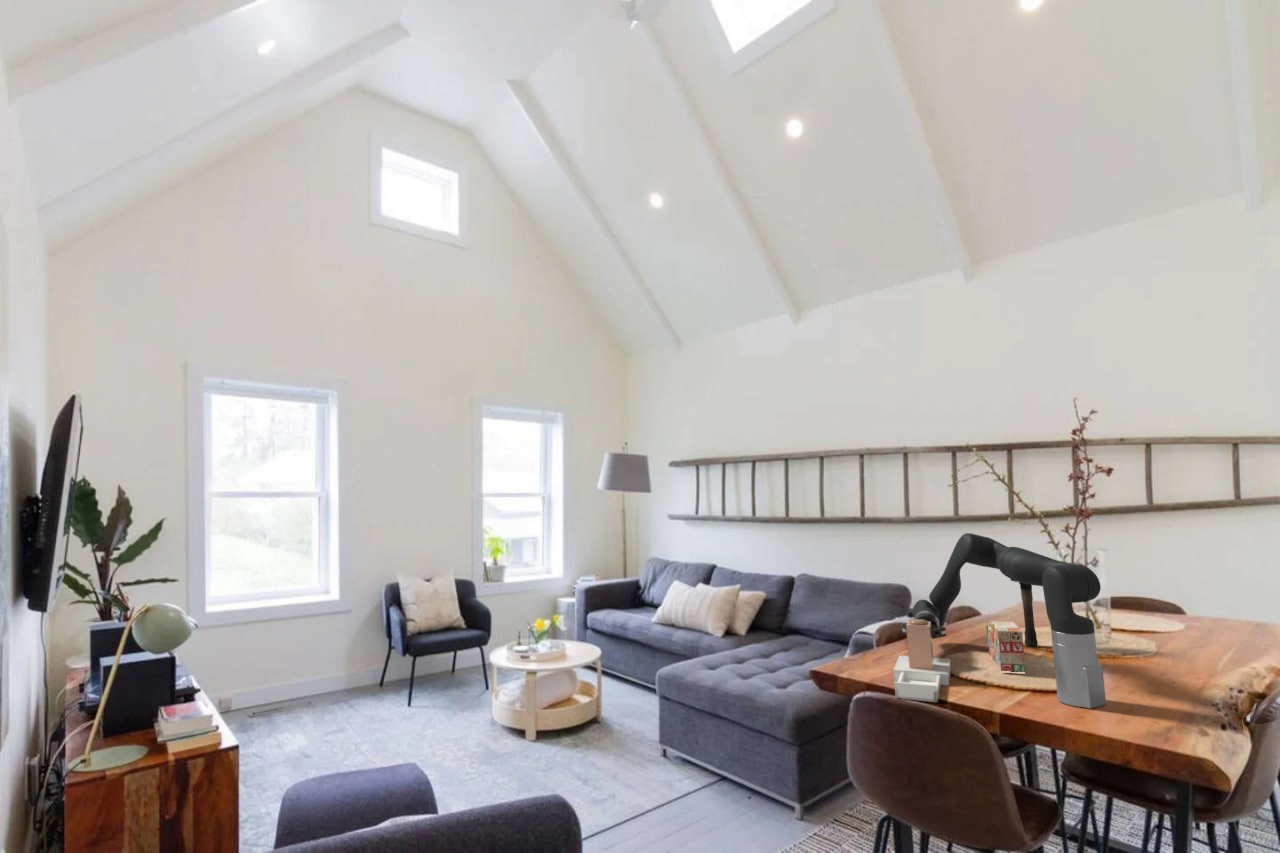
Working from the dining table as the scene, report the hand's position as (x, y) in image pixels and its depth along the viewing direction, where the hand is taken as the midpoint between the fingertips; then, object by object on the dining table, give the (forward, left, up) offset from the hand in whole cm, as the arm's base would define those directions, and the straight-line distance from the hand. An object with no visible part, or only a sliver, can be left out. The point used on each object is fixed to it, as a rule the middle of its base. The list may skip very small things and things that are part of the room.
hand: (921, 637), depth 197 cm
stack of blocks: (-7, -25, -10) cm, 28 cm away
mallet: (+2, -49, -10) cm, 50 cm away
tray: (-13, +15, -10) cm, 22 cm away
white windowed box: (-3, +3, -10) cm, 11 cm away
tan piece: (-4, +5, -7) cm, 9 cm away
